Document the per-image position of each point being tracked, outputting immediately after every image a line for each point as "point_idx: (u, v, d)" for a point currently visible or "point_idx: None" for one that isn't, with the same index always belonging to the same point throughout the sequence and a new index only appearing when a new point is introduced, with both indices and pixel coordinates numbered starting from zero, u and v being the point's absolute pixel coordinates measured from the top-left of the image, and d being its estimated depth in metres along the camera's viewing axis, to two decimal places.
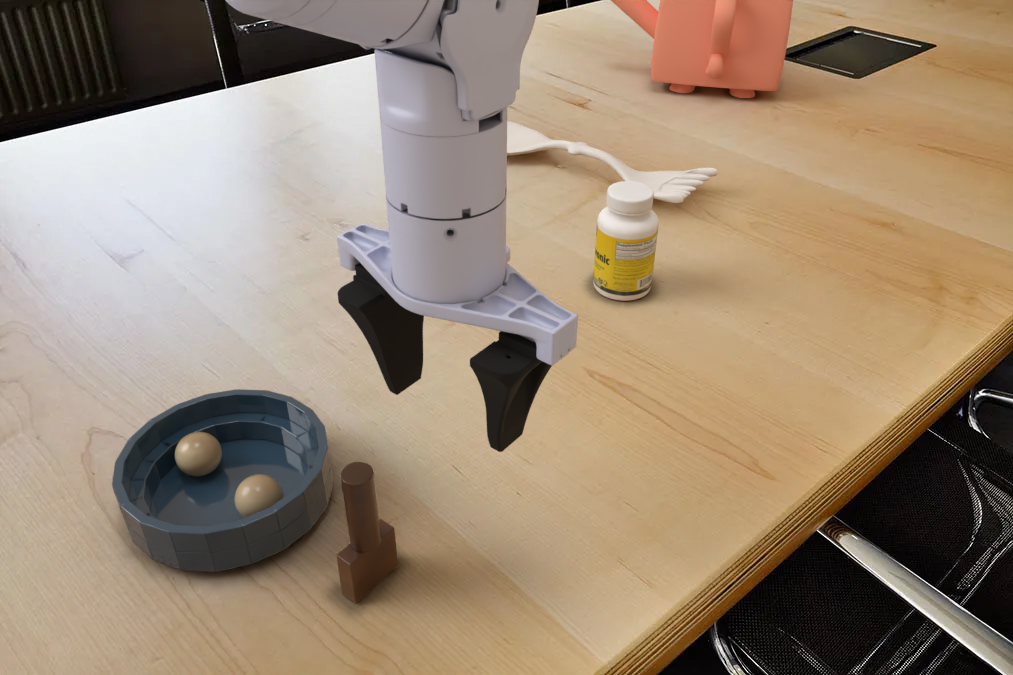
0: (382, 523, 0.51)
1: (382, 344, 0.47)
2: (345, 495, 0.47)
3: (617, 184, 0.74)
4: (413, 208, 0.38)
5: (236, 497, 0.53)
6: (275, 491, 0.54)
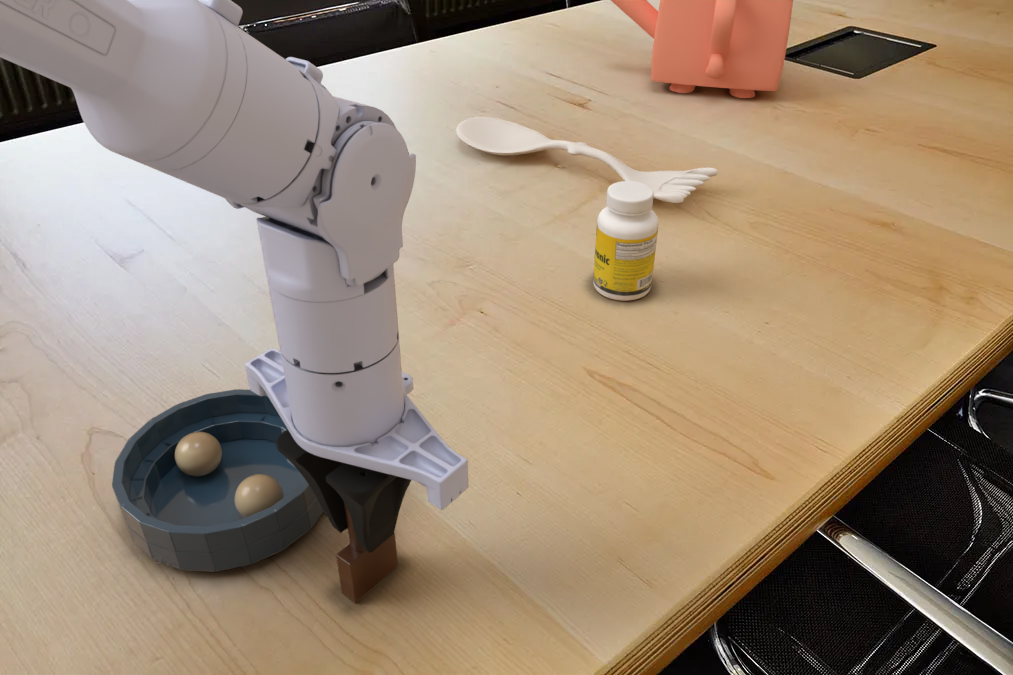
0: None
1: (323, 489, 0.47)
2: None
3: (617, 184, 0.74)
4: (305, 364, 0.39)
5: (236, 497, 0.53)
6: (275, 491, 0.54)
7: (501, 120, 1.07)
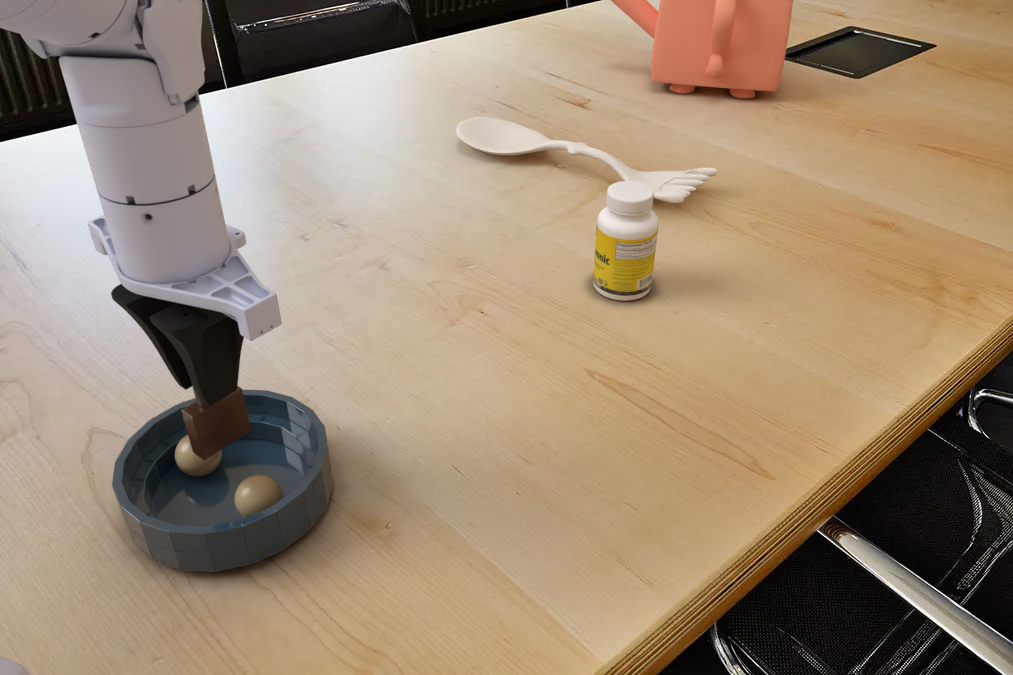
0: None
1: (160, 340, 0.49)
2: None
3: (617, 184, 0.74)
4: (140, 197, 0.41)
5: (236, 497, 0.53)
6: (275, 491, 0.54)
7: (501, 120, 1.07)
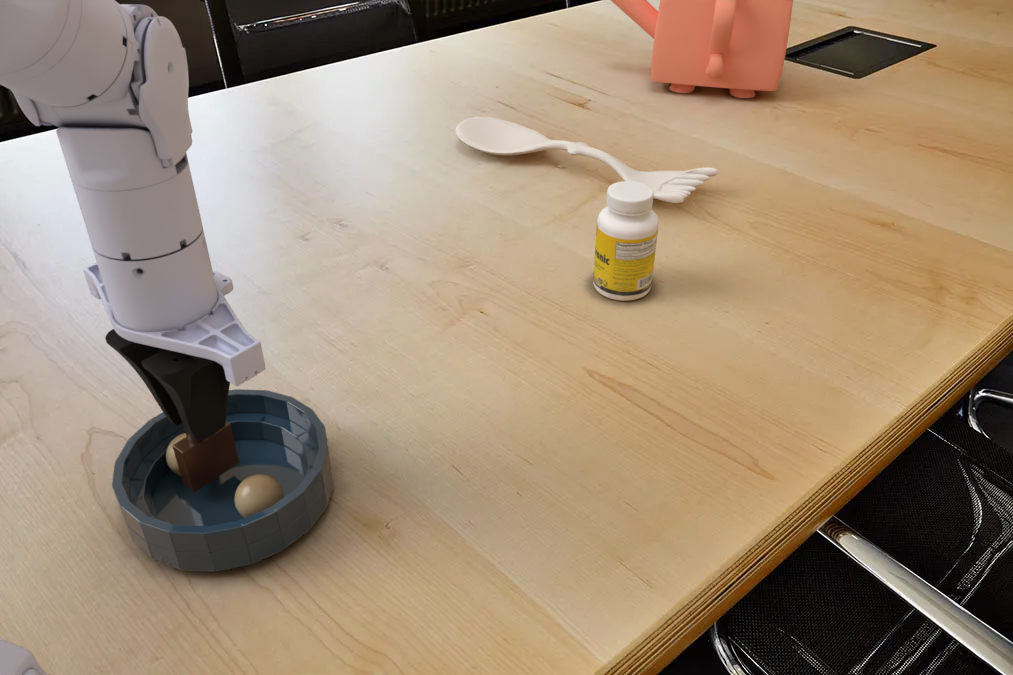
0: None
1: (152, 381, 0.52)
2: None
3: (617, 184, 0.74)
4: (136, 253, 0.44)
5: (236, 497, 0.53)
6: (275, 491, 0.54)
7: (500, 120, 1.07)
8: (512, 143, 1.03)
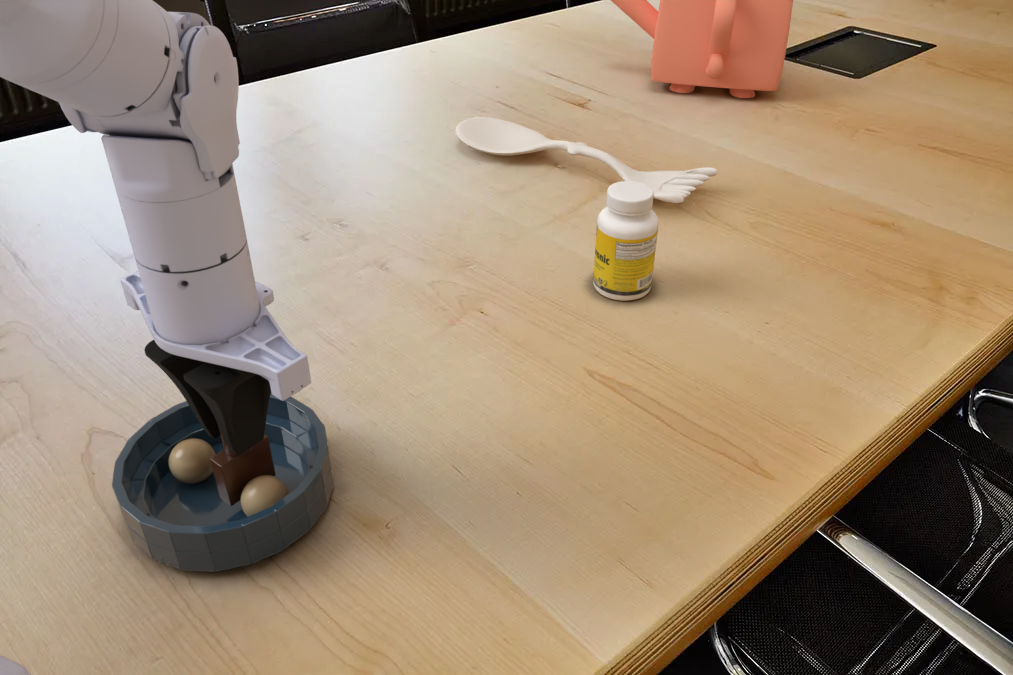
0: None
1: (191, 394, 0.51)
2: None
3: (617, 184, 0.74)
4: (175, 266, 0.43)
5: (244, 496, 0.53)
6: (284, 496, 0.54)
7: (500, 120, 1.07)
8: (512, 143, 1.03)
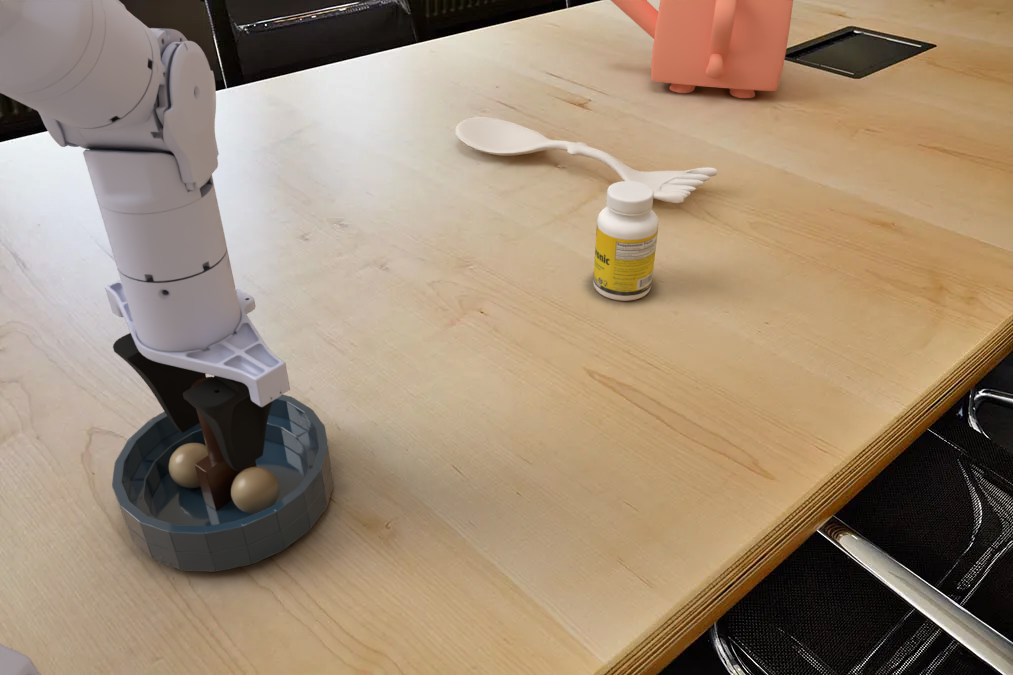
0: None
1: (159, 389, 0.52)
2: None
3: (617, 184, 0.74)
4: (158, 275, 0.44)
5: (231, 488, 0.54)
6: (266, 475, 0.54)
7: (500, 120, 1.07)
8: (512, 143, 1.03)
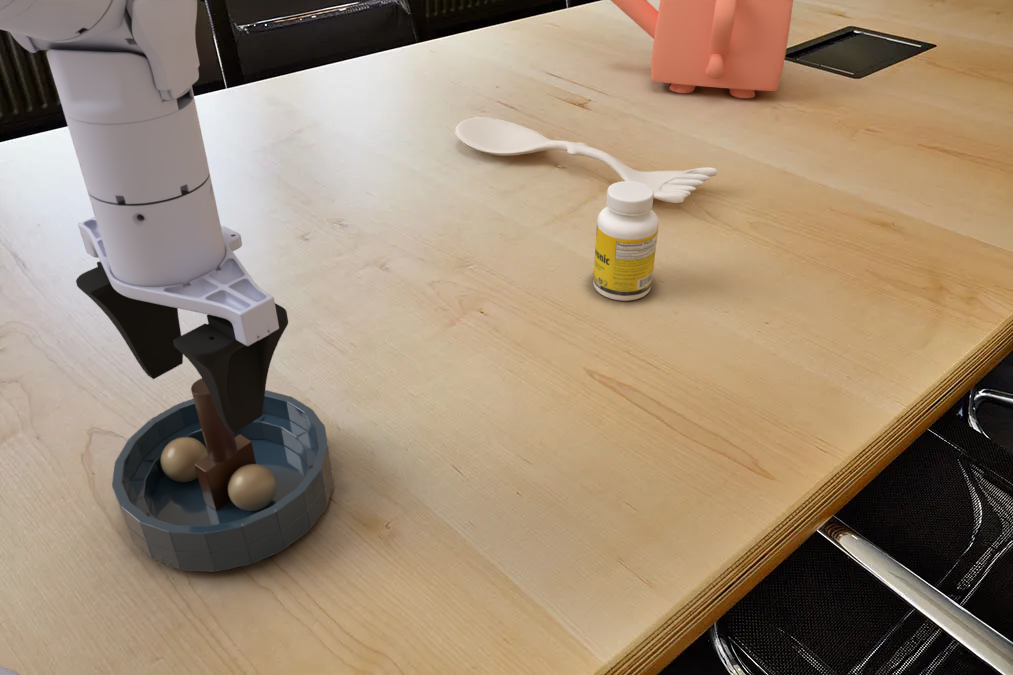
0: (240, 438, 0.56)
1: (127, 329, 0.49)
2: (196, 406, 0.52)
3: (617, 184, 0.74)
4: (131, 197, 0.40)
5: (228, 486, 0.55)
6: (260, 469, 0.55)
7: (500, 120, 1.07)
8: (512, 143, 1.03)
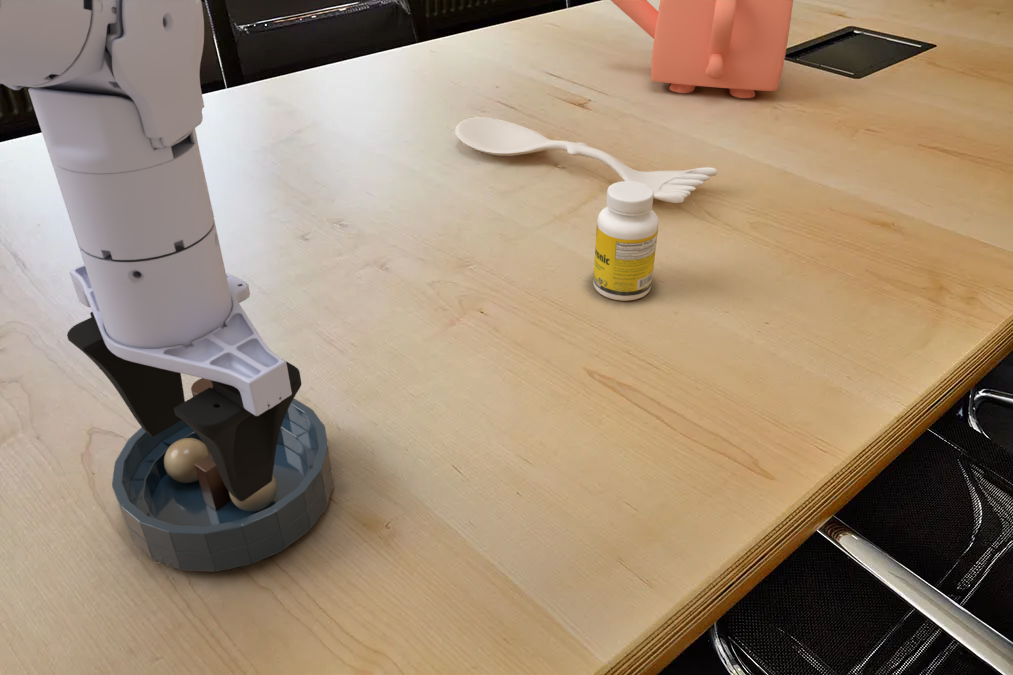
0: None
1: (123, 385, 0.44)
2: None
3: (617, 184, 0.74)
4: (118, 252, 0.35)
5: None
6: None
7: (500, 120, 1.07)
8: (511, 143, 1.03)
